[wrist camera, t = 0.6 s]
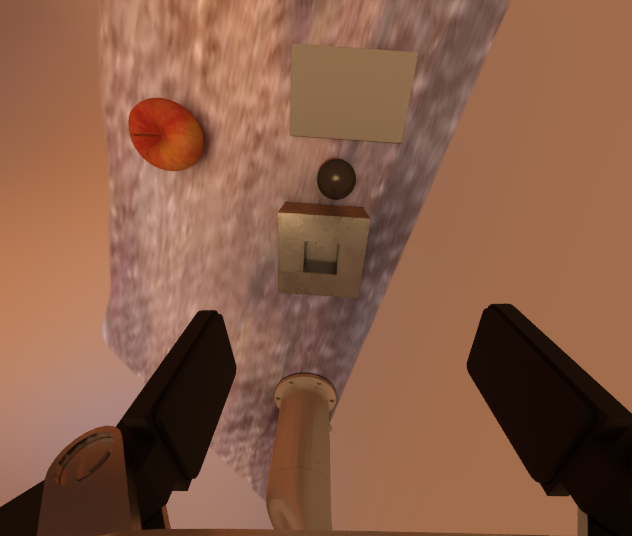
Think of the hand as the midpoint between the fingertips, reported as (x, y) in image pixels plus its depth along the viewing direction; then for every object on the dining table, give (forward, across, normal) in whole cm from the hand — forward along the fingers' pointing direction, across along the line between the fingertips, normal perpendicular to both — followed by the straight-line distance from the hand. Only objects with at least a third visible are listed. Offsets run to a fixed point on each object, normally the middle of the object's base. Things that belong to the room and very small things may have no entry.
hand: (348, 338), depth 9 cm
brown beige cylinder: (+29, 0, -2) cm, 29 cm away
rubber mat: (+30, -2, -10) cm, 31 cm away
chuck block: (+29, +2, +8) cm, 30 cm away
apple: (+30, +19, -7) cm, 36 cm away
